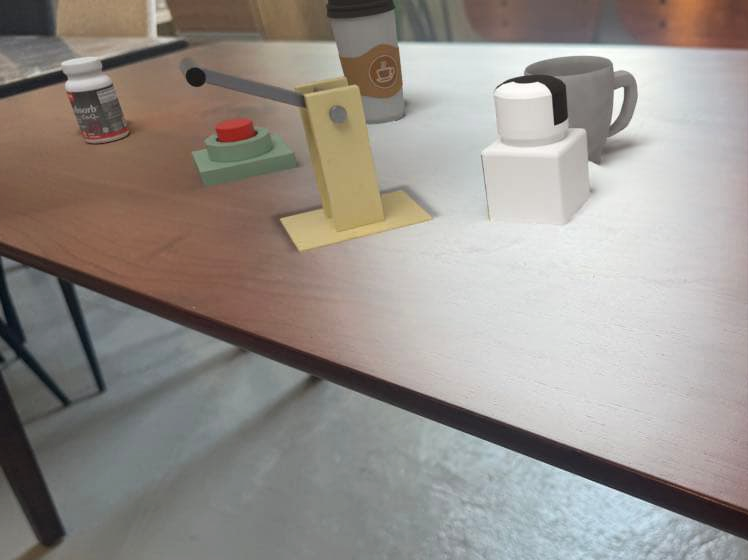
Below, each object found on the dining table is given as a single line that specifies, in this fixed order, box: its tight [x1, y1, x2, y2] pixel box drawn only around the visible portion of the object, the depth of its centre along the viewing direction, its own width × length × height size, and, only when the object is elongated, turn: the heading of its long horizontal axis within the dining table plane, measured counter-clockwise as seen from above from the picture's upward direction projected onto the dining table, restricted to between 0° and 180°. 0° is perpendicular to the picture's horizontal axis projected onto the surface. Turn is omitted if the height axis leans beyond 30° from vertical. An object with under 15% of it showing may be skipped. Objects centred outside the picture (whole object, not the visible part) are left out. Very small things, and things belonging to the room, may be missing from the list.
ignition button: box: [214, 117, 256, 143], centre depth 95 cm, size 4×4×2 cm
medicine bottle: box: [480, 75, 591, 227], centre depth 74 cm, size 7×7×12 cm
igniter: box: [190, 126, 298, 188], centre depth 96 cm, size 10×9×4 cm
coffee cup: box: [325, 0, 406, 125], centre depth 107 cm, size 8×8×15 cm
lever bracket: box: [279, 75, 433, 254], centre depth 75 cm, size 12×9×13 cm
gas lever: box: [179, 56, 324, 109], centre depth 70 cm, size 13×5×2 cm, turn 115°
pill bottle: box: [60, 56, 130, 144], centre depth 113 cm, size 6×6×10 cm
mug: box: [523, 55, 639, 165], centre depth 87 cm, size 12×9×10 cm
